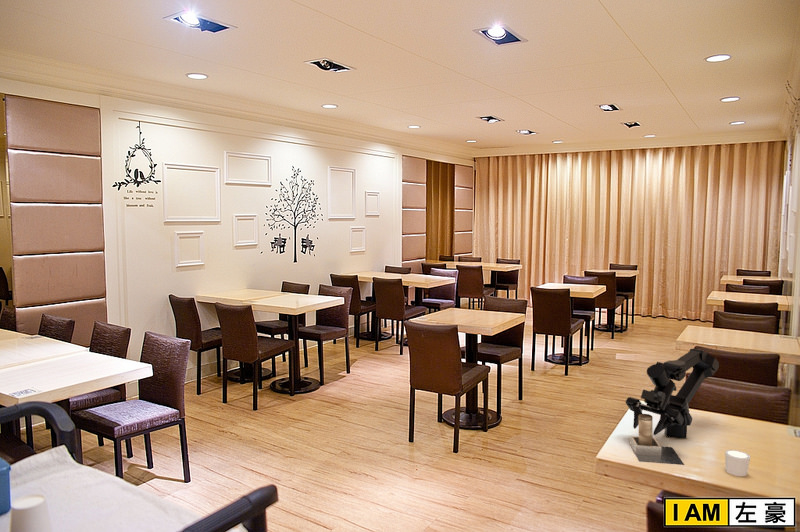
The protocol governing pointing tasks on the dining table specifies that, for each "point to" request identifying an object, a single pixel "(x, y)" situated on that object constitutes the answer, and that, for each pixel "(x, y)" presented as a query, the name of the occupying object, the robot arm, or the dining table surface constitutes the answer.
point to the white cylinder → (737, 462)
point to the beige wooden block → (645, 429)
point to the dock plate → (654, 452)
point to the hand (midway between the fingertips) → (644, 431)
